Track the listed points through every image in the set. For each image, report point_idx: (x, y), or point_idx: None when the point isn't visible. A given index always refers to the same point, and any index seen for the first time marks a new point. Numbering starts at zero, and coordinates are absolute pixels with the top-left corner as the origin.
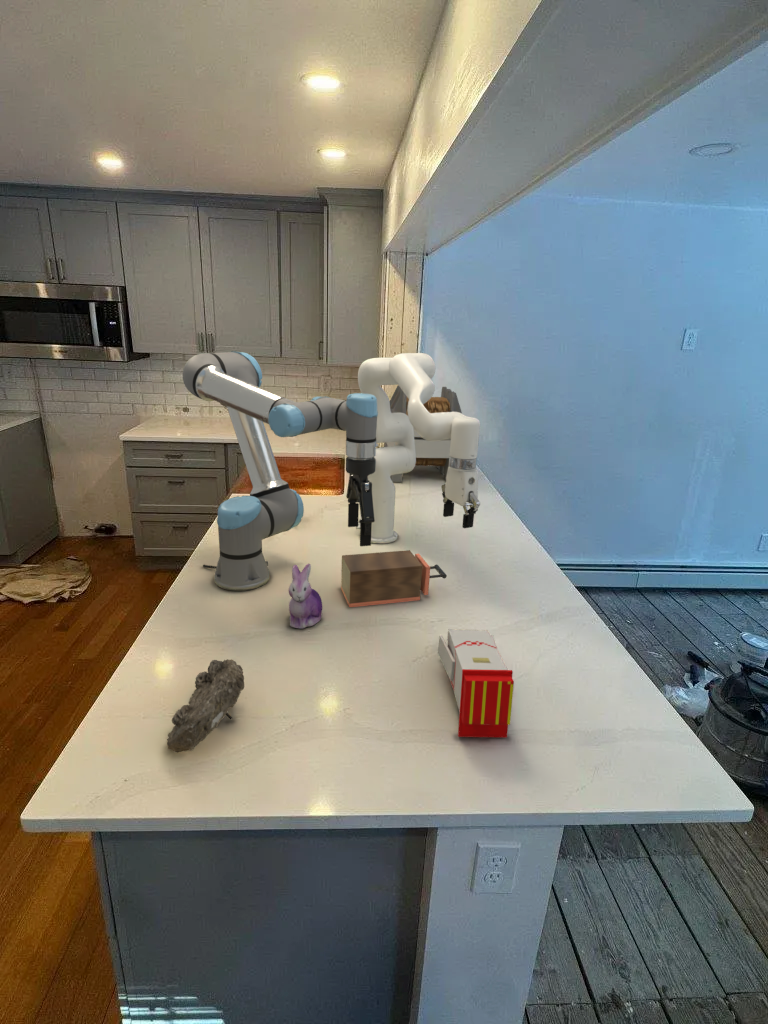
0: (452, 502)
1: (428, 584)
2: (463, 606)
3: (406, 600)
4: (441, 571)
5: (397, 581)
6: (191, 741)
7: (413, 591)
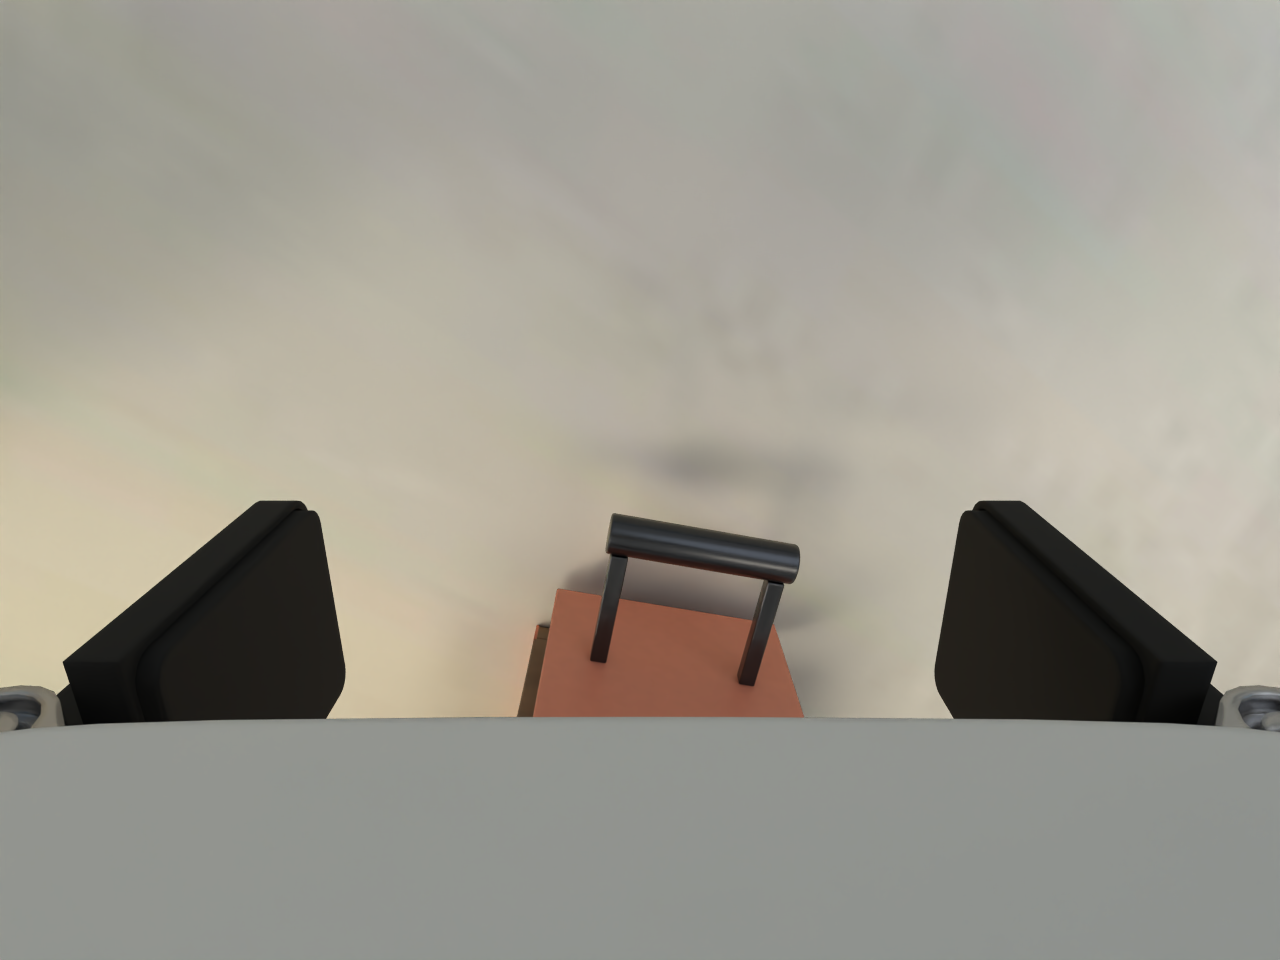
0: (83, 692)
1: (787, 672)
2: (967, 470)
3: None
4: (743, 571)
5: None
6: None
7: None
